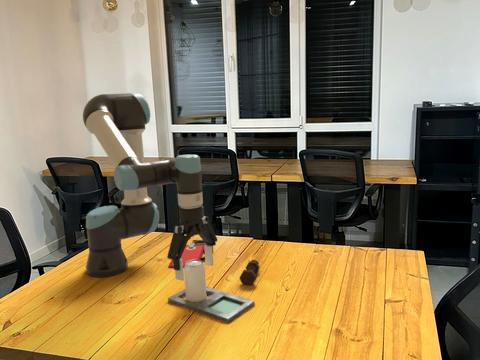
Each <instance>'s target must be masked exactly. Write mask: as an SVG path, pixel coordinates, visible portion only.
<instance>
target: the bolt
mask: <svg viewBox="0 0 480 360" xmlns="http://www.w3.org/2000/svg"><path fill="white" fill-rule="evenodd" d="M260 268H261V267H260V265H259V262H258V261H257V260H256V259H252V260H250V261H248V263H247V265H246V266H245V269H243V271H242V272H241V274H240V275H239V280H240V282H241V284H242V285H243V286H253V285H254V284H255V282H256V281H257V279H258V277H257V276H256V274H257V273H258V271H259V270H260Z"/></svg>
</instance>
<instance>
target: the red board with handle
mask: <svg viewBox="0 0 480 360" xmlns="http://www.w3.org/2000/svg"><path fill="white" fill-rule="evenodd" d="M204 245H207V244H206V243H205V242H204V241H203V239H193V240H192V241H191V242H190V244H187V245H186V247H185V249H184V251H183V254H182V256H181V258H180V259H183V269H184V267H185V263H186V262H187V261H189V260H195V259H197V260H202V261H203V262H204V261H205V256H203V255H204V254H205V249H204ZM177 255H178V254H177ZM167 268H168V269H174V265H173V260H171V259H170V263H169V265H168V267H167Z"/></svg>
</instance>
